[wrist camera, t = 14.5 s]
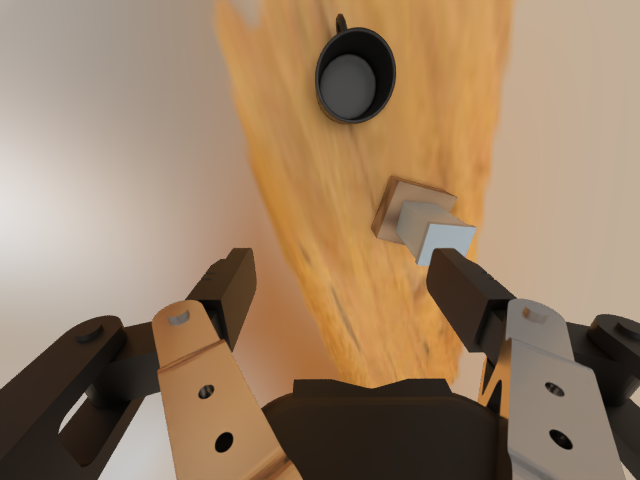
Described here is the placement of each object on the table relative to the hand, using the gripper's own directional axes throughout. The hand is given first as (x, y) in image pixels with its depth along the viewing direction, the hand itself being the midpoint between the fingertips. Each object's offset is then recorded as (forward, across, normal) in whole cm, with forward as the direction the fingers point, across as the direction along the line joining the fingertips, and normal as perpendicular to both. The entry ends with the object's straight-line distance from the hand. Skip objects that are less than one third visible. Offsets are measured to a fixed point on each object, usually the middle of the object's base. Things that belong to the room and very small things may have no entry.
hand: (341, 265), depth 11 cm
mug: (+33, -3, -12) cm, 35 cm away
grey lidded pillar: (+28, -15, +8) cm, 33 cm away
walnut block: (+33, -15, +8) cm, 38 cm away
